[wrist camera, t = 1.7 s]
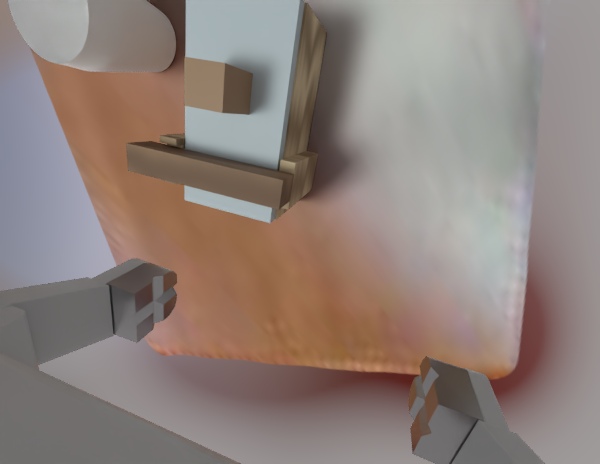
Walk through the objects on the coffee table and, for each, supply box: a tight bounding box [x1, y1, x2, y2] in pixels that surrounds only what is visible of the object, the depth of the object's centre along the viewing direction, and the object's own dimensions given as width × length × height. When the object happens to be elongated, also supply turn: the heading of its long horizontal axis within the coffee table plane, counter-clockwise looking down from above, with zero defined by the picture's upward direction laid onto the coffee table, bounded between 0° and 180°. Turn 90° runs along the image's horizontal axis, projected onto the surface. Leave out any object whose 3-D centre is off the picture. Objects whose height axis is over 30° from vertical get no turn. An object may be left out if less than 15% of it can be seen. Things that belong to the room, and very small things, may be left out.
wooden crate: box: [160, 3, 327, 220], centre depth 29 cm, size 18×13×10 cm
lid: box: [184, 0, 305, 223], centre depth 24 cm, size 18×10×6 cm, turn 170°
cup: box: [7, 0, 176, 72], centre depth 29 cm, size 9×9×12 cm
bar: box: [126, 141, 294, 210], centre depth 26 cm, size 2×15×3 cm, turn 80°
